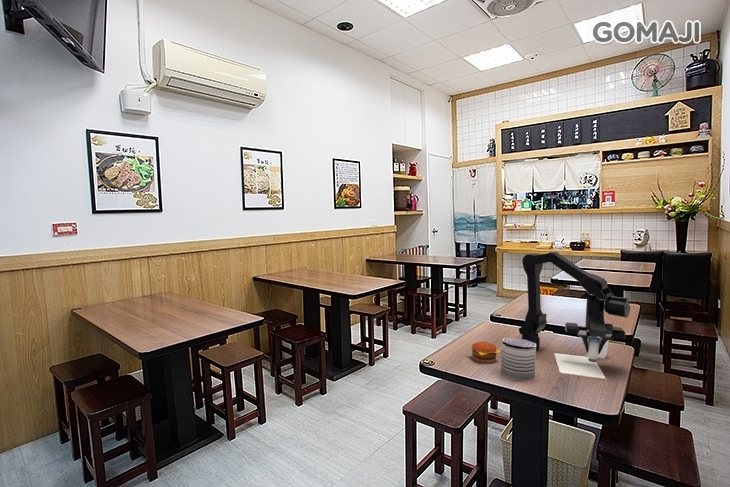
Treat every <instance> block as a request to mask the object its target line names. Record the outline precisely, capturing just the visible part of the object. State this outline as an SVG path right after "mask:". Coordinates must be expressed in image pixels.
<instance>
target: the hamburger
mask: <svg viewBox="0 0 730 487" xmlns="http://www.w3.org/2000/svg"><path fill="white" fill-rule="evenodd" d="M468 349H471V350H472V351H471V353H472V354H471V359H472V360H473V361H475V362H477V363H480V364H487V365H488V364H493V363H496V361H497V354H502V351H500V350H499V349H497V346H496V345H495V344H493V343H491V342H488V341H485V340H483V341H480V340H479V341H477V342H474V343H472V345H471V346H468Z"/></svg>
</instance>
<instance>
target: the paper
mask: <svg viewBox="0 0 730 487" xmlns="http://www.w3.org/2000/svg"><path fill="white" fill-rule="evenodd" d="M553 354H554V358H555V361H556V364H557V368H558V371H559V374H564V375H565V374H566V375H571V376H579V377H585V378H586V377H587V378H594V379H602V380H607V378H606V376H605V374H604V373H603V371H602V370H601V368H600V365H599V364H598V361H597V362H590V361H588V357H587V356H582V355H576V354H575V355H573V354H566V353H557V352H554V353H553Z"/></svg>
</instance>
